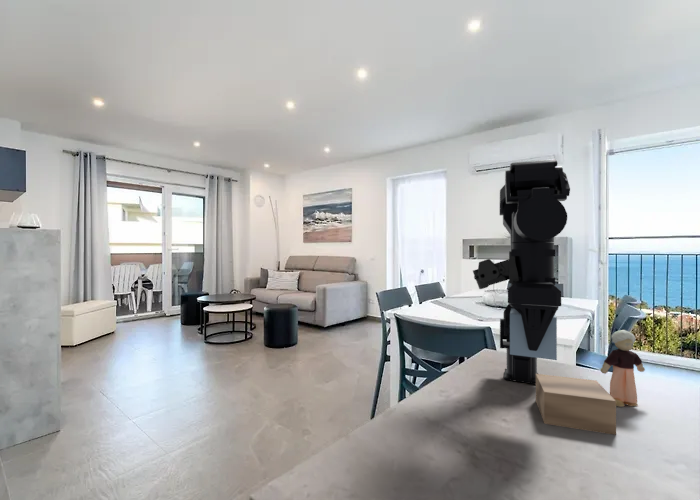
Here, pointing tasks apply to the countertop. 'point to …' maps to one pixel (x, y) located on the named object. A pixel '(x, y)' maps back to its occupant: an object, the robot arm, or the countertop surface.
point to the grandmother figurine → (623, 369)
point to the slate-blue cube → (520, 343)
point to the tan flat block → (575, 403)
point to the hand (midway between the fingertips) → (532, 345)
